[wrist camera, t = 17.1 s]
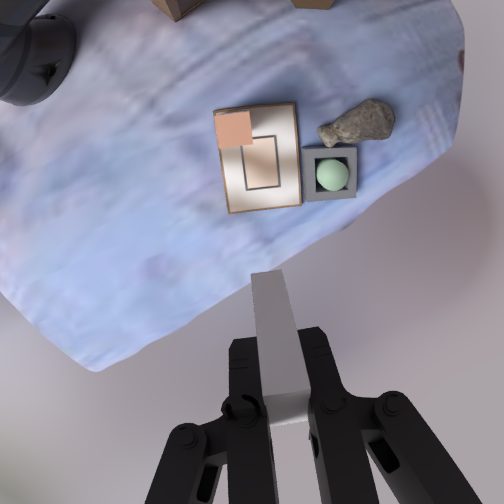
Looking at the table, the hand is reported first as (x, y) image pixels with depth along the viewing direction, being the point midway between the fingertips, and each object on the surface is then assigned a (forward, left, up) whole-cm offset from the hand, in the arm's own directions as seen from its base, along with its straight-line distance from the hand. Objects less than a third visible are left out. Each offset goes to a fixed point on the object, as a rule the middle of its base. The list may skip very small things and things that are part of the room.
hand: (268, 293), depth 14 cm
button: (0, +11, -25) cm, 27 cm away
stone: (-6, +15, -25) cm, 29 cm away
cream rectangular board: (-2, +2, -24) cm, 25 cm away
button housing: (0, +11, -24) cm, 27 cm away
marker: (-7, -1, -24) cm, 25 cm away
